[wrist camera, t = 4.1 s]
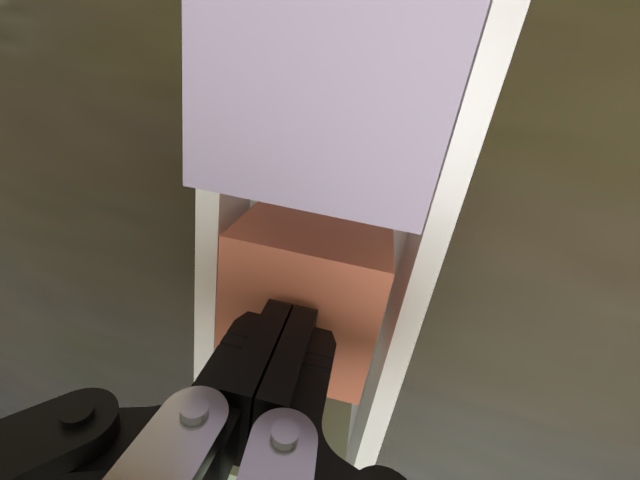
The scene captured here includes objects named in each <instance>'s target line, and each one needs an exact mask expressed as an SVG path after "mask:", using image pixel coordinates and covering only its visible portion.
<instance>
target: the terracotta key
mask: <svg viewBox="0 0 640 480" xmlns="http://www.w3.org/2000/svg"><path fill="white" fill-rule="evenodd" d="M394 276H395V262H394V235H393V229H390V228H385V227H380V226H375V225H370V224H366V223H361V222H356V221H351V220H346V219H341V218H337V217H332V216H327V215H322V214H317V213H312V212H308V211H303V210H298V209H293V208H288V207H283V206H279V205H274V204H269V203H264V202H259V201H258V202H257V203H256V204H255V205H254V206H252V207H251V208H250V209H249V210H248V211H247V212H246V213H245V214H243V215H242V216H241V217H240V218H239V219H238V220H237V221H236V222H234V223H233V224H232V225H231V226H230V227H229V228H228V229H227V230H226V231H224V232H223V233H222V234H221V235H220V236H219V261H218V285H217V310H216V335H215V349H216V347H217V346H218V345H219V344H220V341H221V340H222V338H223V337H224V335H226V332H227V331H228V329H229V327H230V326H231V324H232V323H233V321H234V320H235V319H236V318H238V317H240V316H241V315H243V314H244V313H246V312H247V311H250V312H254V313H259V314H261V312H262V310H263V308H264V307H265V305H266V303H267V301H268V300H269V299H274V300H278V301H283V302H287V303H291V304H293V305H295V304H296V305H300V306H305V307H309V308H313V309H317V310H318V317H317V322H316V327H318V328H322V329H326V330H330V331H332V333H333V336H334V338H335V341H336V344H337V345H336V350H335V355H334V360H333V366H332V371H331V376H330V381H329V386H328V391H327V397H328V398H332V399H336V400H340V401H344V402H347V403H351V404H355V405H359V402H360V399H361V395H362V391H363V388H364V384H365V381H366V377H367V373H368V370H369V366H370V362H371V359H372V355H373V352H374V348H375V344H376V341H377V337H378V334H379V330H380V326H381V323H382V319H383V316H384V312H385V308H386V305H387V301H388V298H389V294H390V290H391V287H392V283H393V279H394Z"/></svg>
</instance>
